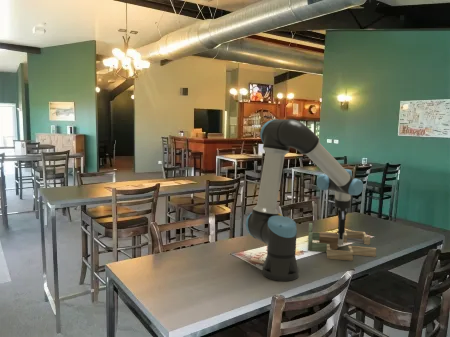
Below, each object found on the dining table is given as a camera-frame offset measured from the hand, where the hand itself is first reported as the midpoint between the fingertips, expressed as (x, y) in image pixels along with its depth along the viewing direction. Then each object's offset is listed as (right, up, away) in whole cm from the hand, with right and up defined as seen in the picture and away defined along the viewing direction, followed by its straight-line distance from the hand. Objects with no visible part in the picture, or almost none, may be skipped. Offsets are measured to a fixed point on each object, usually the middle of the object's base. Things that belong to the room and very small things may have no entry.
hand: (340, 244), depth 184 cm
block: (-6, -1, +2) cm, 6 cm away
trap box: (0, -1, 0) cm, 1 cm away
